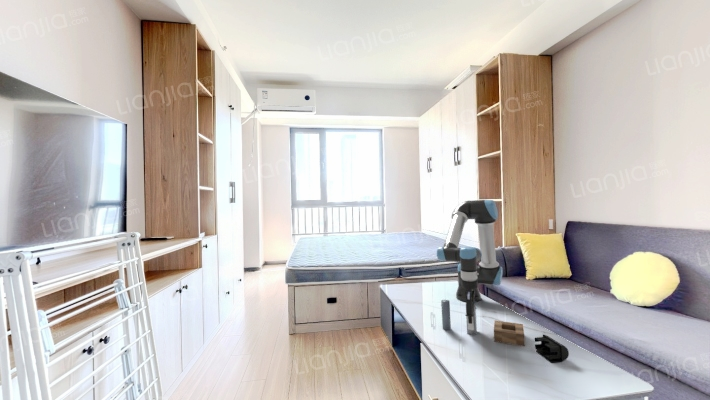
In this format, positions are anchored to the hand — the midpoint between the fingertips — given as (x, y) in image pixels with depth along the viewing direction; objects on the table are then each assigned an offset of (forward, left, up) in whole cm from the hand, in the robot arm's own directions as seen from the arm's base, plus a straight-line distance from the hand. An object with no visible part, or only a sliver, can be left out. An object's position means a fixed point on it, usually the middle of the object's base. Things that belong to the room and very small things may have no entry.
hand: (471, 325), depth 141 cm
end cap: (+11, +31, -3) cm, 33 cm away
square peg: (0, 0, -3) cm, 3 cm away
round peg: (0, -12, -3) cm, 12 cm away
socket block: (0, +16, -3) cm, 16 cm away
